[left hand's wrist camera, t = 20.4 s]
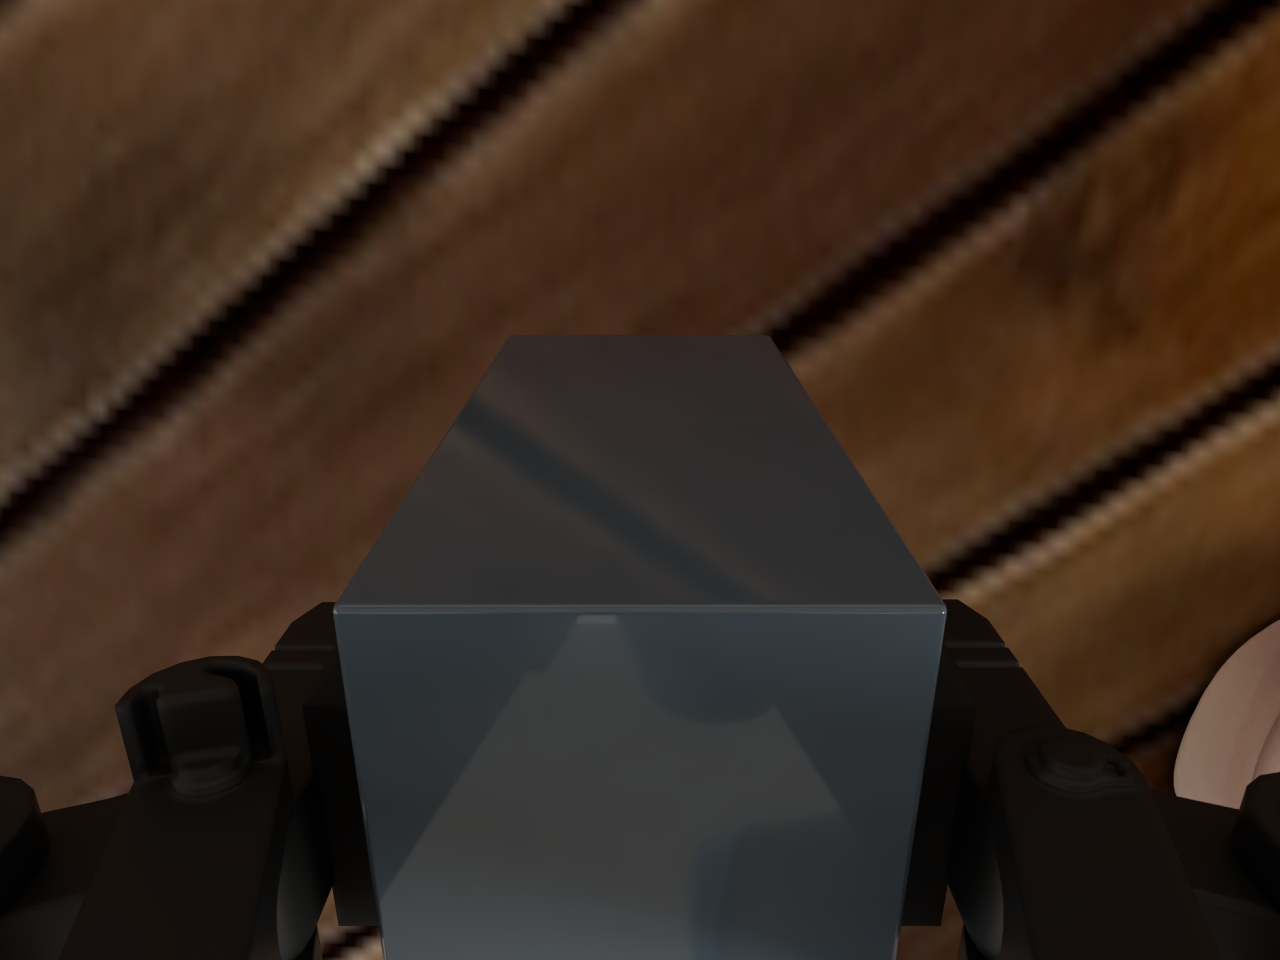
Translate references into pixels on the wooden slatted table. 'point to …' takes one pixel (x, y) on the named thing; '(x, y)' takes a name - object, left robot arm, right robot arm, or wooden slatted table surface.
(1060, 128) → the wooden slatted table surface
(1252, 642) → the anatomical model
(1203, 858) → the left robot arm
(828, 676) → the brick
